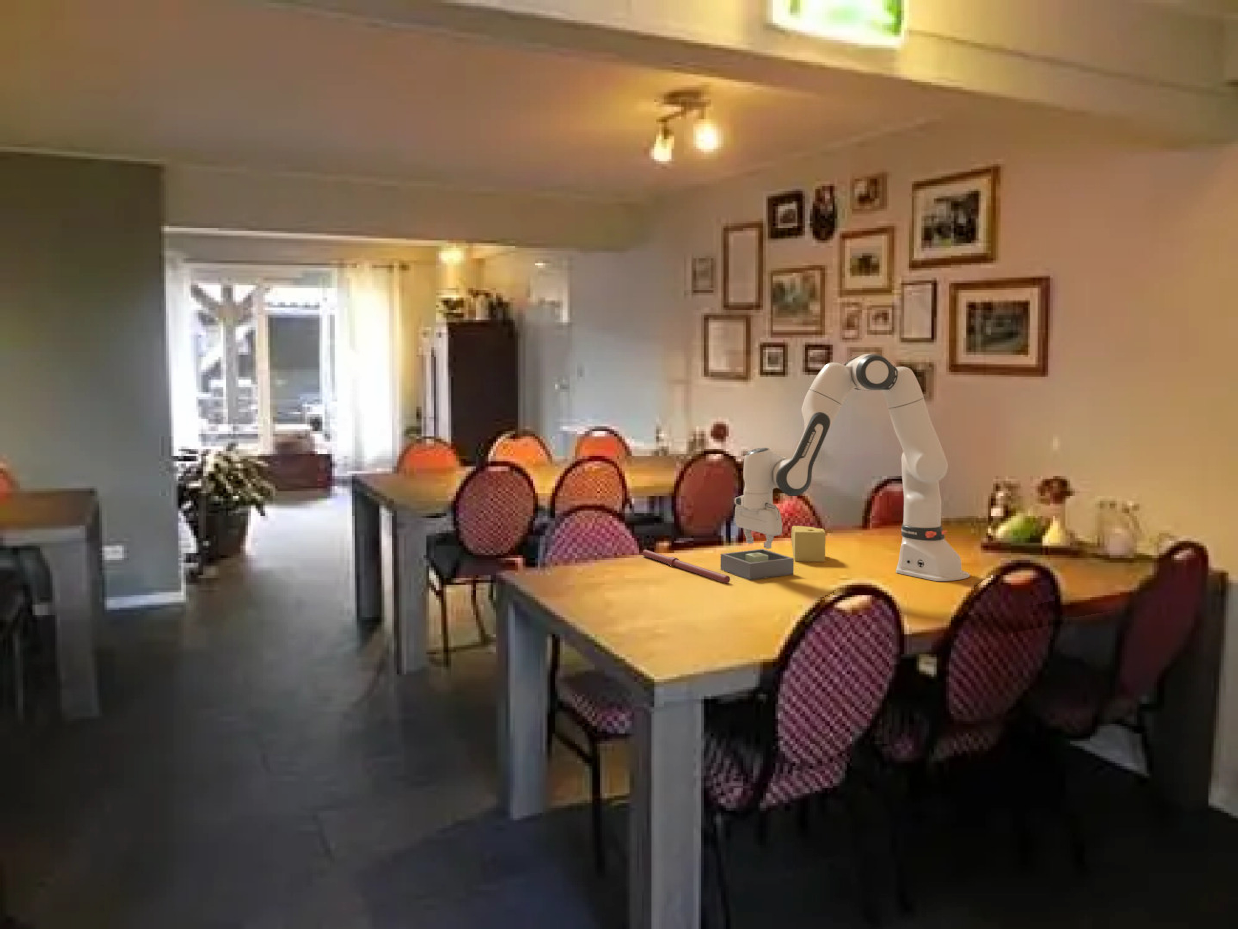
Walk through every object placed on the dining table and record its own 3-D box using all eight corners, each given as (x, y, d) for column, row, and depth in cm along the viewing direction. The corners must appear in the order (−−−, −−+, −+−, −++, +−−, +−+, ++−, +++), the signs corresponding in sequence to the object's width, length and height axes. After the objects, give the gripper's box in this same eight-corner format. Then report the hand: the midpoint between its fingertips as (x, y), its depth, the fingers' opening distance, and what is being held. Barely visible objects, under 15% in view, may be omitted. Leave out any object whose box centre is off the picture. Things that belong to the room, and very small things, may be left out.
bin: (793, 574, 306) (793, 558, 306) (749, 580, 299) (750, 563, 298) (762, 564, 320) (763, 548, 320) (720, 569, 313) (720, 553, 312)
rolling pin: (640, 558, 332) (640, 548, 332) (648, 557, 334) (648, 547, 333) (723, 585, 294) (723, 575, 294) (731, 584, 296) (731, 574, 295)
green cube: (768, 571, 308) (768, 555, 308) (754, 573, 306) (754, 557, 306) (758, 568, 313) (758, 552, 312) (745, 570, 311) (745, 554, 310)
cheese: (822, 555, 333) (823, 526, 332) (826, 562, 323) (826, 532, 321) (790, 555, 334) (791, 525, 333) (793, 562, 324) (793, 531, 322)
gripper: (787, 504, 299) (787, 550, 301) (747, 496, 317) (748, 539, 319) (769, 506, 296) (770, 552, 298) (731, 498, 314) (731, 541, 316)
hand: (758, 545), depth 309 cm, fingers open, 8 cm apart
